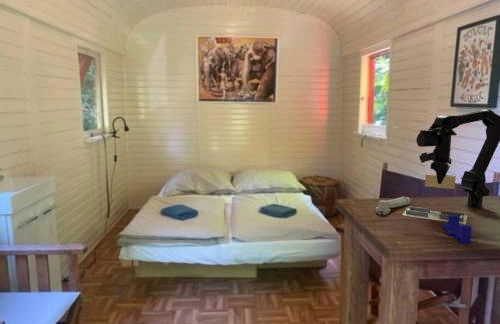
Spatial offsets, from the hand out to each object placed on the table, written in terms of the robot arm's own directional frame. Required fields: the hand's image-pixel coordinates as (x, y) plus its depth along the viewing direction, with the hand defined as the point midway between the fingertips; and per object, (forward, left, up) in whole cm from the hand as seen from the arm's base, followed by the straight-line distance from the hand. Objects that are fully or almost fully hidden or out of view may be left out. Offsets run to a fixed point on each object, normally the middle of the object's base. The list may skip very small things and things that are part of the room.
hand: (439, 183), depth 157 cm
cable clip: (+32, +9, -12) cm, 35 cm away
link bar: (0, 0, -2) cm, 2 cm away
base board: (+13, 0, -12) cm, 17 cm away
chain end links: (+13, 0, -10) cm, 17 cm away
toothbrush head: (+10, -16, -12) cm, 22 cm away
